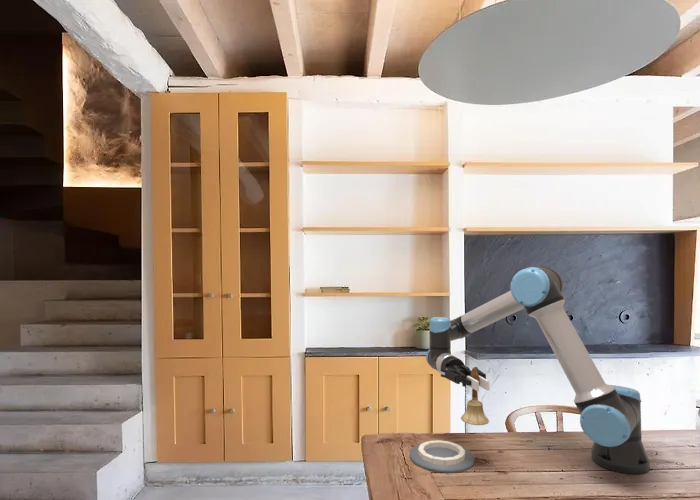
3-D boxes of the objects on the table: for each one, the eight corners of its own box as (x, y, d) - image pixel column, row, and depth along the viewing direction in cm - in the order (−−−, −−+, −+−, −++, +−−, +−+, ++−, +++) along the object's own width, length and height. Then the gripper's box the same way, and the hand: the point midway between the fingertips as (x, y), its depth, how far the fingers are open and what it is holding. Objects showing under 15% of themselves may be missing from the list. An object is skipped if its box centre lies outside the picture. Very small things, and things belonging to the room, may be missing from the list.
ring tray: (476, 449, 143) (476, 441, 143) (472, 477, 124) (472, 468, 124) (416, 441, 150) (416, 433, 150) (403, 467, 131) (403, 458, 131)
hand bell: (488, 427, 127) (488, 372, 127) (459, 422, 130) (459, 369, 130) (489, 417, 135) (489, 366, 135) (462, 413, 138) (462, 363, 138)
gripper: (471, 376, 152) (507, 397, 129) (429, 378, 149) (458, 400, 126) (471, 354, 152) (507, 372, 129) (429, 356, 149) (458, 374, 126)
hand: (482, 385), depth 127 cm, fingers closed on hand bell, 3 cm apart
